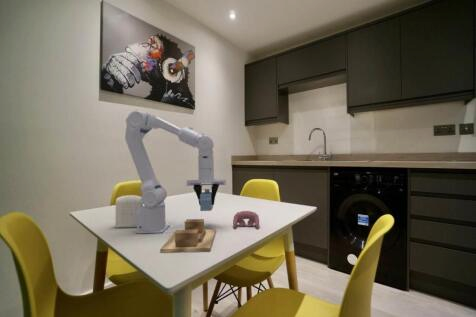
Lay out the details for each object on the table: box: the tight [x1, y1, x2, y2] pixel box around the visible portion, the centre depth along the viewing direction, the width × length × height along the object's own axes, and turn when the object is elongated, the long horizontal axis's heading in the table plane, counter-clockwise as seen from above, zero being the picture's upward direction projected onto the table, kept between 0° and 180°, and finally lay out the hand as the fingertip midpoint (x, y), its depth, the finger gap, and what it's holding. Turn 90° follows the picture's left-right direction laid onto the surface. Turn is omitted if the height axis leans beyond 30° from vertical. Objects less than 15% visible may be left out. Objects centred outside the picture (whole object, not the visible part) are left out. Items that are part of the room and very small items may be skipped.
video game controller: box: [232, 210, 260, 230], centre depth 82 cm, size 10×5×7 cm, turn 85°
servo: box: [198, 188, 214, 212], centre depth 81 cm, size 4×10×7 cm, turn 1°
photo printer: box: [115, 194, 144, 228], centre depth 85 cm, size 10×4×12 cm, turn 94°
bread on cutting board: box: [159, 218, 217, 254], centre depth 69 cm, size 14×16×5 cm
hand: (206, 204), depth 81 cm, fingers closed on servo, 4 cm apart
